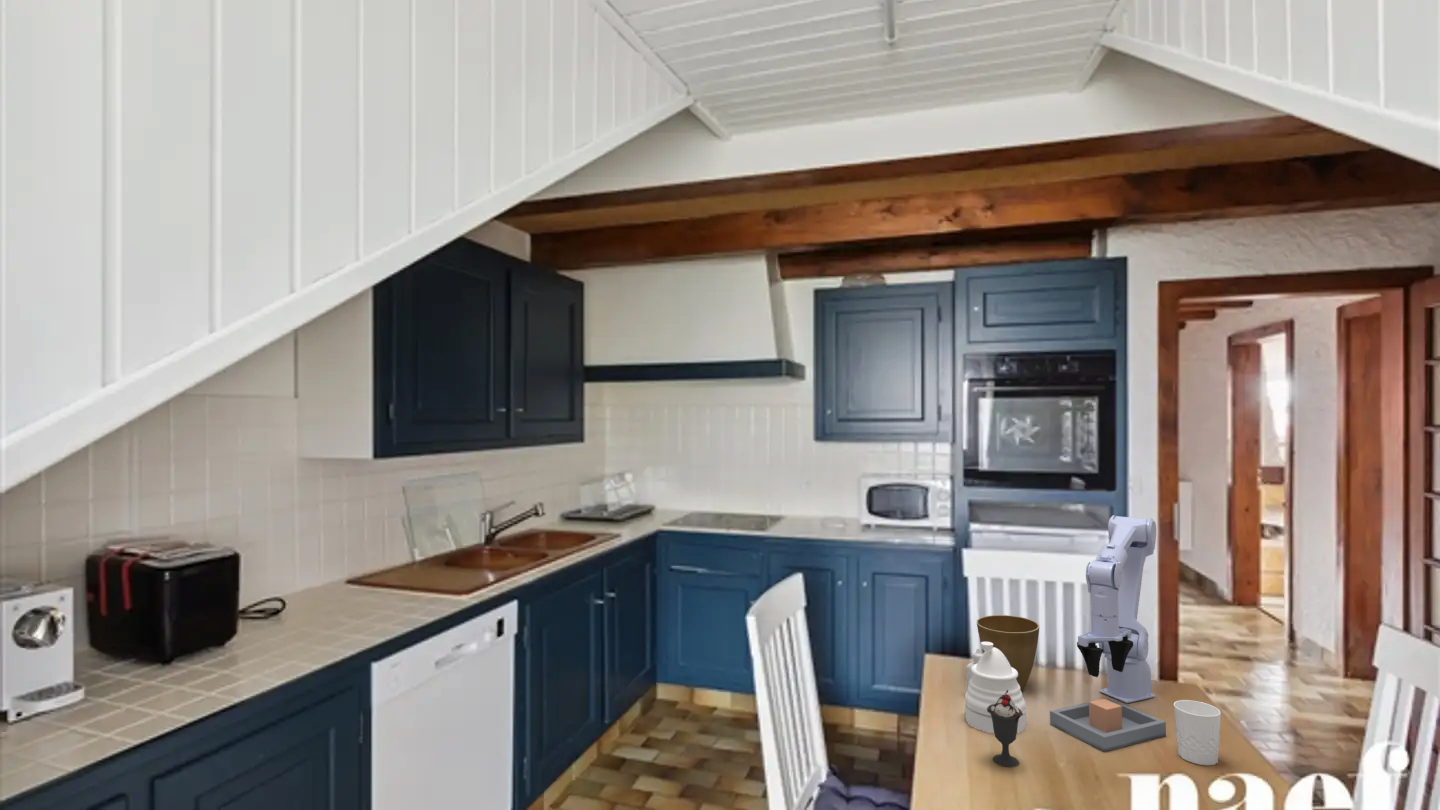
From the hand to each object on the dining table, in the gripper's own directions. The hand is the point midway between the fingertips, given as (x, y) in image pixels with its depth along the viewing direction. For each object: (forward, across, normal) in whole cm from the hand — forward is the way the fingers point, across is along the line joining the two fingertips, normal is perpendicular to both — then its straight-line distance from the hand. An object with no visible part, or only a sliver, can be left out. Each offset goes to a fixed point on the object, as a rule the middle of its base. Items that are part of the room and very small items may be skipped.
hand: (1105, 673), depth 165 cm
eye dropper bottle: (+10, -20, +19) cm, 29 cm away
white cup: (+10, -1, -22) cm, 24 cm away
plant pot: (+10, -8, +22) cm, 25 cm away
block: (+9, -7, -6) cm, 13 cm away
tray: (+9, -7, -6) cm, 13 cm away
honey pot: (+10, -26, +7) cm, 29 cm away
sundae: (+10, -37, -8) cm, 39 cm away
